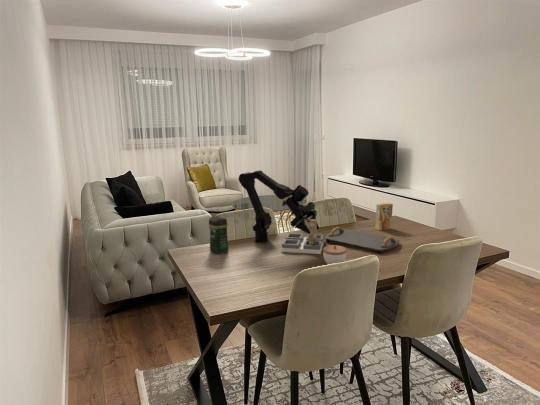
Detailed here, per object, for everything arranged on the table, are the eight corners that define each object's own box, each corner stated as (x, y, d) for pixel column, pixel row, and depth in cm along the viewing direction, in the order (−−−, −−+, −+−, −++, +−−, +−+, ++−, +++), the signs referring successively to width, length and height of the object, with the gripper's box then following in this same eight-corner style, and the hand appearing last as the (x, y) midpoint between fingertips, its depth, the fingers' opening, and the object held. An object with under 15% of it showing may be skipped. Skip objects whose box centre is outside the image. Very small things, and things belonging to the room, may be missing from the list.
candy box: (387, 227, 253) (388, 202, 249) (391, 228, 249) (393, 203, 246) (375, 228, 250) (376, 203, 246) (379, 230, 246) (380, 205, 243)
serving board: (319, 242, 228) (319, 231, 227) (341, 232, 245) (341, 222, 244) (385, 256, 204) (386, 244, 202) (404, 244, 221) (405, 233, 220)
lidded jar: (318, 265, 193) (318, 245, 191) (331, 258, 201) (331, 240, 199) (337, 270, 186) (338, 250, 184) (350, 264, 194) (351, 245, 192)
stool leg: (309, 248, 211) (309, 221, 207) (307, 245, 214) (307, 219, 211) (317, 247, 211) (317, 221, 208) (315, 245, 215) (315, 219, 212)
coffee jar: (231, 252, 212) (229, 217, 208) (217, 256, 207) (216, 220, 203) (220, 248, 220) (219, 213, 216) (207, 251, 215) (206, 216, 211)
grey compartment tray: (281, 251, 212) (281, 244, 211) (287, 239, 231) (287, 232, 230) (320, 253, 208) (320, 246, 207) (323, 241, 227) (324, 234, 226)
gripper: (295, 201, 202) (315, 226, 199) (313, 194, 217) (332, 217, 214) (282, 214, 208) (301, 239, 205) (300, 207, 223) (318, 230, 220)
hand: (314, 231), depth 210 cm, fingers open, 9 cm apart
